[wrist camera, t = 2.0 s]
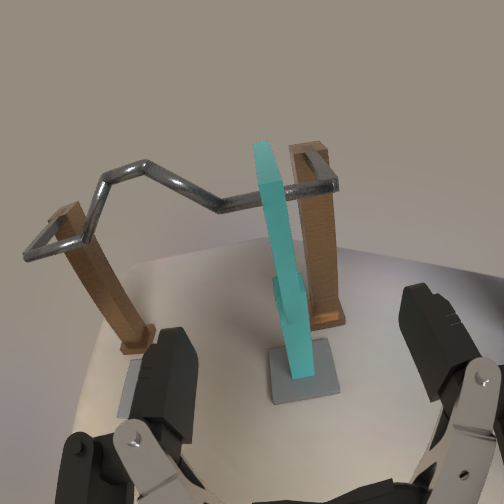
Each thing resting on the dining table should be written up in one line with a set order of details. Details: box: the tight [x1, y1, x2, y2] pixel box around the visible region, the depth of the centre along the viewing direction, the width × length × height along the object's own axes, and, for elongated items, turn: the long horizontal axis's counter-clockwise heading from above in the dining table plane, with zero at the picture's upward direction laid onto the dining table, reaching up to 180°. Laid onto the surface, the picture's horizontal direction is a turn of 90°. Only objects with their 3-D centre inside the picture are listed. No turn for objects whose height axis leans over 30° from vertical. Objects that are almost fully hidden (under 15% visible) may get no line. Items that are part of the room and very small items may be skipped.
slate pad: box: [117, 360, 142, 419], centre depth 33 cm, size 9×9×1 cm
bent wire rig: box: [23, 141, 345, 355], centre depth 29 cm, size 30×11×26 cm, turn 92°
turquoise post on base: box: [253, 141, 340, 405], centre depth 25 cm, size 8×7×24 cm
